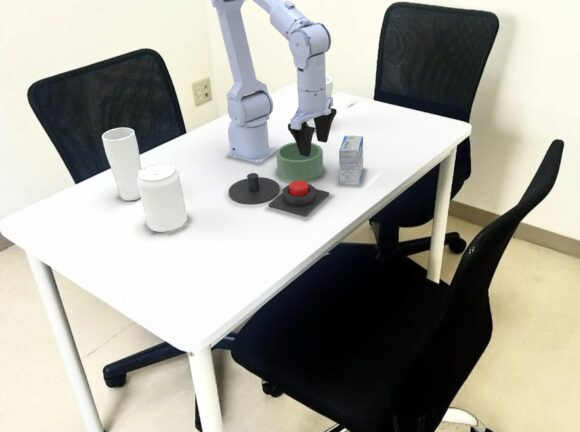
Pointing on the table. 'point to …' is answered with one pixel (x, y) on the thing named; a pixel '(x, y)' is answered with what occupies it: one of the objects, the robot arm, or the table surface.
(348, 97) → the table surface
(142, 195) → the beverage can
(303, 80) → the robot arm
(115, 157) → the drinking glass
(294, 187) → the button
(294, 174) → the green pot
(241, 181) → the lid
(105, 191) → the table surface
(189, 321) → the table surface
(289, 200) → the button base
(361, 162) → the medicine box
